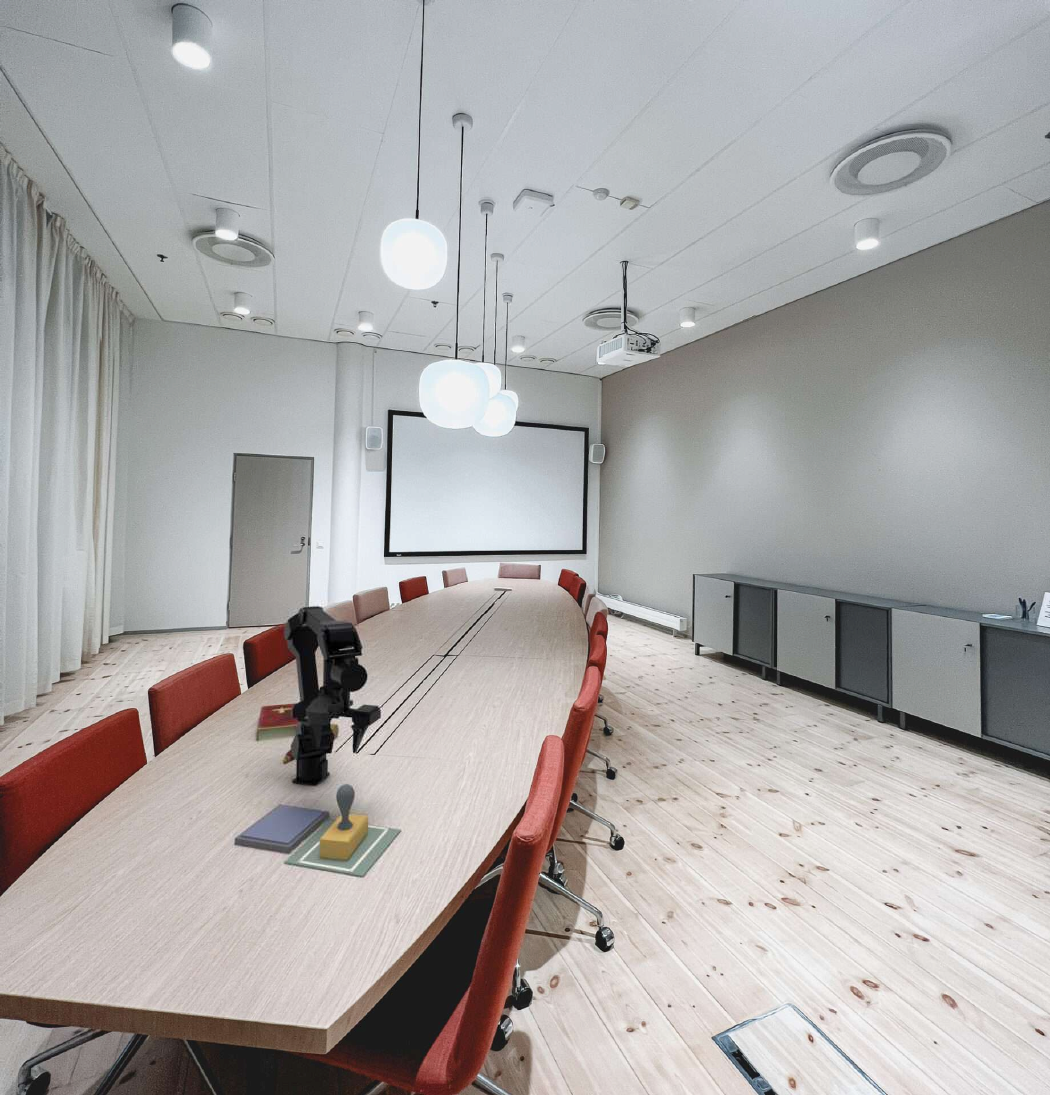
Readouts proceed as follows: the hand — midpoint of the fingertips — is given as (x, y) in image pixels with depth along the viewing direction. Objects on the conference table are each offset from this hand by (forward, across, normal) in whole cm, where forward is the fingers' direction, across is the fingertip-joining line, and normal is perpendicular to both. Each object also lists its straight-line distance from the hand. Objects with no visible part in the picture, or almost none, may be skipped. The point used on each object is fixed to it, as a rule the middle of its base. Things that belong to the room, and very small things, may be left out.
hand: (335, 750), depth 128 cm
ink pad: (+13, -5, -11) cm, 18 cm away
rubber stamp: (+13, +10, -13) cm, 21 cm away
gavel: (+14, -25, +27) cm, 40 cm away
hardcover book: (+14, -42, +40) cm, 59 cm away
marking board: (+13, +10, -13) cm, 21 cm away
